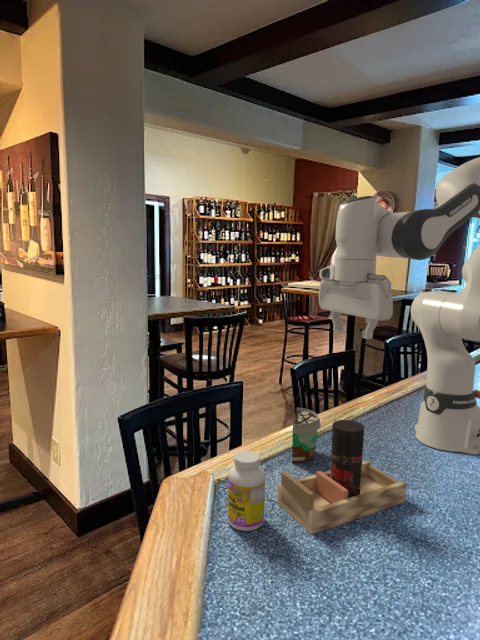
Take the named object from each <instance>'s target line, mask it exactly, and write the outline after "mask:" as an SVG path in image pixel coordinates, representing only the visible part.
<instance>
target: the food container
mask: <svg viewBox="0 0 480 640" xmlns="http://www.w3.org/2000/svg"><path fill="white" fill-rule="evenodd" d="M321 425H322V424H321V419H320V417H319V415H318V413H316V412H315V411H313V410H311V409H307V408H303V407H296V416H295V418H294V423H293V424H292V441H291V442H292V446H291V447H292V450H291V451H292V454H291V464H296V465H300V464H306V463H310V462H312V461H313V460H314V459H315V454H316V447H317V445H316V444H317V436H318V430H320V428H321Z"/></svg>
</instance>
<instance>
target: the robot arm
mask: <svg viewBox="0 0 480 640" xmlns="http://www.w3.org/2000/svg"><path fill="white" fill-rule="evenodd" d="M435 199H436V203H437V206H436V207H434V208H424V209H416V210H412V211H400V212H393V211H392V210H391V211H390V210H389V209H386V208H385V207H384V206H383V205H382V204H381V203H379V202H378V201H377V198H376V197H375V196H373V195H365V196H364V195H363V196H358V197H353V198H352V197H351V198H348V199H345V200H343V201H342V202H341V203H340V205H339V207H338V210H337V214H336V215H337V216H336V220H335V221H336V223H335V238H334V239H335V242H336V252H335V255H334V263H333V264H330V265H329V266H327V267H324V268H322V269H319V274H318V275H319V278H320V279H321V281H320V283H319V288H318V305H319V307H320V309H321V310H324V311H329V312H330V313H329V315H330V319H331V321H332V324H333V327H332V330H333V331H334V332H343V331H344V323H342V321H341V317H340V316H342V314H344V315H348V316H355V317H359V318H365V324H367V325H366V327H365V328H364V329H362V330H361V338H362V339H365V340H372V339H373V336H374V330H375V328H376V327H377V325H378V323H379V321H387V320H390V319H391V318H392V316H393V314H394V302H393V300H394V299H393V292H392V282H391V281H390V279H389V278H388V277H387V276H386V275H385V274H377V257H382V258H383V257H384V258H385V257H386V258H403V259H409V260H417V261H423V260H427V259H430V258H431V257H433V255H435V254H436V253H437V252H438V250H439V249H441V248H440V247H442V245H443V244H444V242H445V241H446V240H447V238H448V237H449V236H450V235H451V234H453V233H454V232H455V231H456V230H457V229H459V228H460V227H461V226H463V225H464V224H465V223H467V221H469V220H471V219H472V218H473V217H474V218H477V219H480V156H478V157H476V158H473V159H471V160H468V161H466V162H464V163H463V164H460V165H458V166H457V167H456V168H454V169H452V170H451V171H449V172H448V173H447V174H445V175H444V176H443V177H442V178H441V179H439V181H438V182H437V185H436V189H435ZM461 274H462V279H463V281H464V282H465V286H464V288H463V289H461V291H460V292H453V291H445V290H430V291H424V292H421V293H419V294H418V295H417V296H416V297H415V298H414V300H413V301H412V303H411V306H410V316H411V319H412V321H413V322H414V323H415V325H416V326H417V327H418V329H419V331H420V334H421V335H422V336H421V337H422V338H423V340H424V341H423V342H424V346H425V349H426V350H425V351H426V357H427V368H426V384H425V385H424V388H423V396H422V398H423V401H422V402H421V403H420V409H419V414H418V420H417V423H416V424H415V425H414V431H415V436H414V437H415V438H416V439H417V441H419V442H420V443H422V444H424V445H426V446H428V447H430V448H434V449H437V450H441V451H447V452H453V453H454V452H456V453H465V454H469V455H475V456H476V455H479V454H480V406H479V405H478V403H477V399H479V400H480V390H478V389H474V383H475V374H476V362H475V359H474V358H473V356H472V355H471V353H469V351H467V349H466V347H465V345H464V343H463V339H464V340H466V341H472V342H480V243H479V244H478V245H477V246H476V248H475V249H474V251H473V252H472V253H471V254H470V256H469V258H468V259H467V260H466V261H465V263H464V264H463V266H462V269H461Z"/></svg>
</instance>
